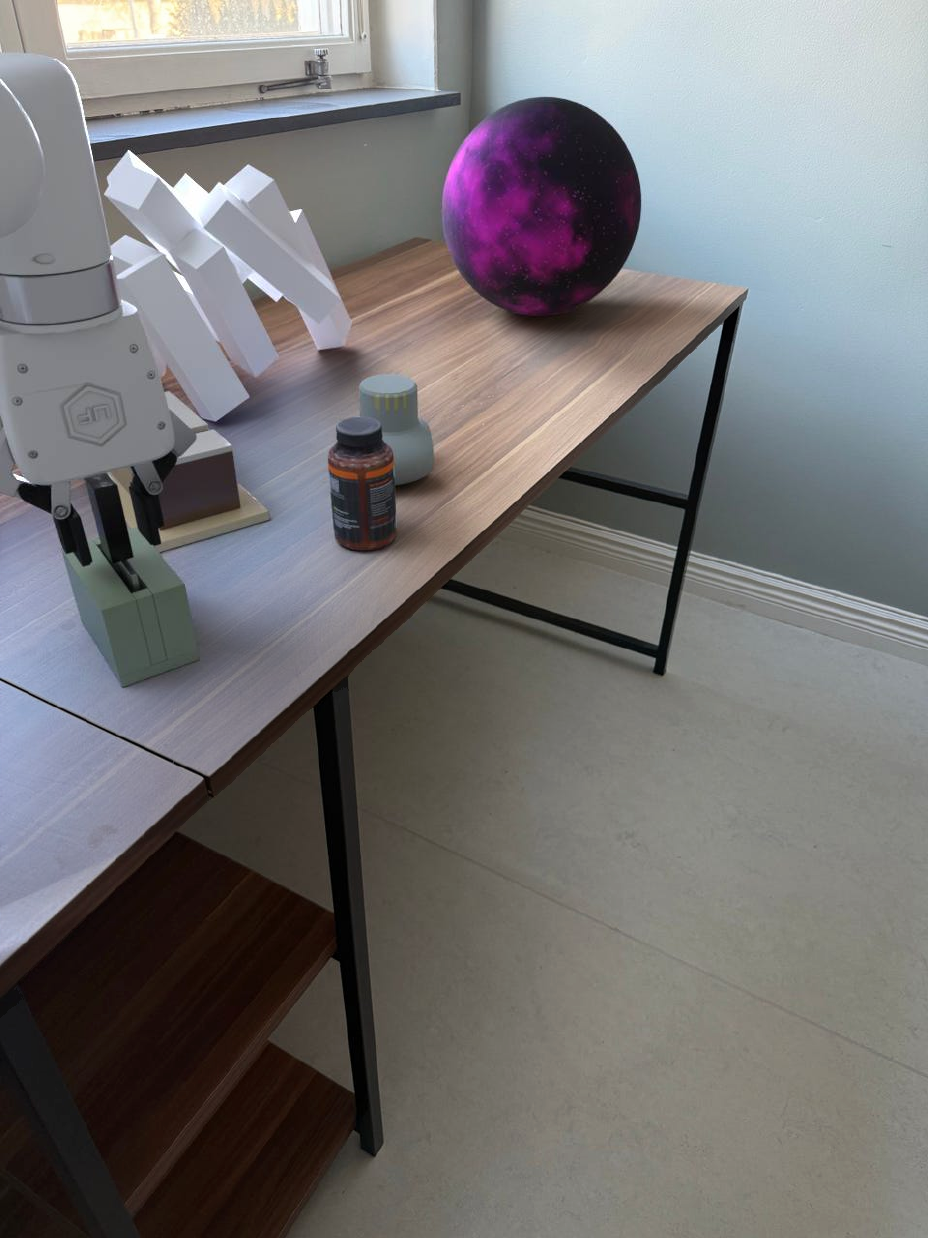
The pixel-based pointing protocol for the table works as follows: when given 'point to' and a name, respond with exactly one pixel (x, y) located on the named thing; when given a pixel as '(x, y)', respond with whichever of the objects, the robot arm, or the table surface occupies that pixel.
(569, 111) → the purple galaxy ball
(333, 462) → the supplement bottle
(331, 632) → the table surface
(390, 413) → the air freshener
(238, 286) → the pile of blocks
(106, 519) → the knife
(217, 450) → the cake
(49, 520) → the table surface
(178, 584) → the knife block
